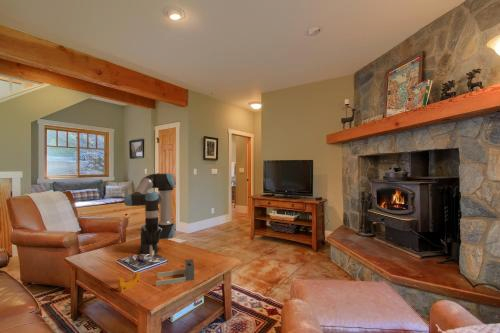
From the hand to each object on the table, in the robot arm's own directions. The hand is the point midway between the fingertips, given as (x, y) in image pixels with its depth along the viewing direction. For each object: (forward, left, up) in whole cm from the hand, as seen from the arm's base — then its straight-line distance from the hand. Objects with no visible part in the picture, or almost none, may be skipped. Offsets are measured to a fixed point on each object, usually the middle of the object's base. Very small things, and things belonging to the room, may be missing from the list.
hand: (151, 255), depth 146 cm
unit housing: (0, +22, -16) cm, 28 cm away
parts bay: (0, +11, -16) cm, 20 cm away
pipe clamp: (+2, -12, -17) cm, 21 cm away
